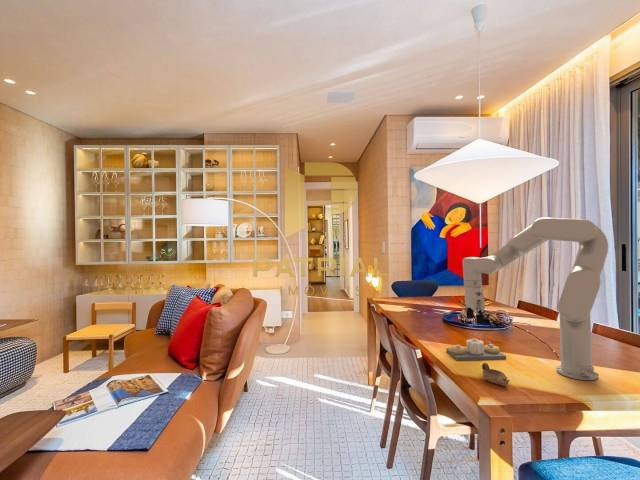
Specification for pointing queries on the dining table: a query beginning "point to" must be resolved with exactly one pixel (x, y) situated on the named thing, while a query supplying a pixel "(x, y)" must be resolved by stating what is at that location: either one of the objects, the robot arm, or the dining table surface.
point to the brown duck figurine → (494, 375)
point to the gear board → (489, 354)
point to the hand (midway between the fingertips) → (475, 321)
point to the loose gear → (475, 346)
